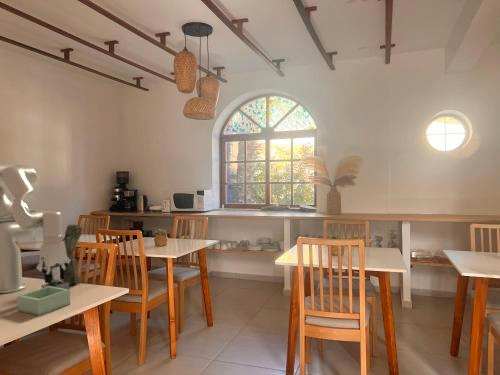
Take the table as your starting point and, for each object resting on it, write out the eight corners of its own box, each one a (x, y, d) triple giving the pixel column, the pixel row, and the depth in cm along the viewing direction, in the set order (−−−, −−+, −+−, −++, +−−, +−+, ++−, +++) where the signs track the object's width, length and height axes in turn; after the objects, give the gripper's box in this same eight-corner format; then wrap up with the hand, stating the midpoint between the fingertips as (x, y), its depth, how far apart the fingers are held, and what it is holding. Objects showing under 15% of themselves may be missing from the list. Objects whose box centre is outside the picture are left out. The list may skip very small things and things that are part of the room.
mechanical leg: (64, 288, 162) (72, 223, 168) (50, 288, 163) (59, 223, 169) (84, 287, 175) (90, 226, 181) (71, 286, 176) (78, 226, 183)
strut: (47, 289, 155) (45, 261, 154) (56, 286, 159) (55, 259, 158) (53, 290, 153) (52, 262, 152) (63, 287, 157) (62, 260, 156)
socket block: (41, 296, 154) (40, 285, 154) (58, 291, 161) (57, 280, 161) (52, 299, 150) (52, 287, 150) (69, 293, 158) (69, 282, 157)
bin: (18, 311, 137) (17, 295, 137) (50, 300, 149) (49, 286, 149) (38, 316, 131) (37, 300, 131) (70, 304, 143) (69, 289, 143)
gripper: (65, 236, 165) (67, 274, 165) (28, 242, 149) (30, 285, 150) (76, 237, 161) (78, 276, 162) (38, 243, 146) (41, 287, 146)
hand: (54, 280), depth 156 cm, fingers open, 5 cm apart
